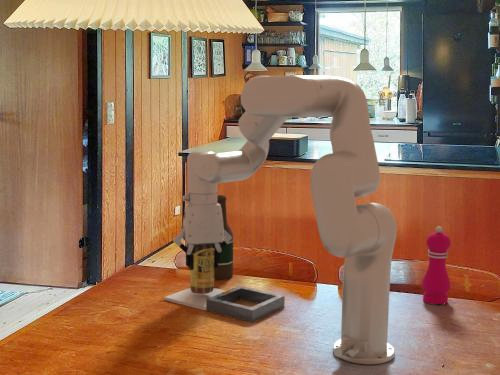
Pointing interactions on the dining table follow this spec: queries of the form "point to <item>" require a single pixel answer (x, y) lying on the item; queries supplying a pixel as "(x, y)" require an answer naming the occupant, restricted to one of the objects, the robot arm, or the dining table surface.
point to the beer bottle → (227, 252)
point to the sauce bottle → (202, 269)
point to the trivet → (192, 298)
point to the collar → (251, 314)
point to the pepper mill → (436, 269)
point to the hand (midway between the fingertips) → (202, 266)
